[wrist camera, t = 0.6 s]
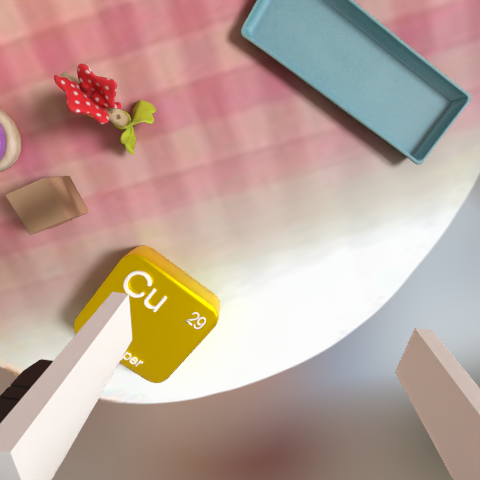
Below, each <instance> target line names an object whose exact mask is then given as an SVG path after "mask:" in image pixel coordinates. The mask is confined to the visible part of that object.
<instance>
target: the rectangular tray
mask: <svg viewBox="0 0 480 480" xmlns="http://www.w3.org/2000/svg"><path fill="white" fill-rule="evenodd" d="M241 35H242V36H243V37H244V38H245V39H247V40H248V41H250V42H251V43H253V44H254V45H256V46H257V47H258V48H260V49H261V50H263V51H264V52H265V53H267V54H268V55H269V56H271V57H272V58H273V59H275V60H276V61H278V62H279V63H280V64H282V65H283V66H284V67H286V68H287V69H288V70H290V71H291V72H292V73H294V74H295V75H297V76H298V77H299V78H300V79H302V80H303V81H304V82H306V83H307V84H309V85H310V86H311V87H313V88H314V89H315V90H317V91H318V92H319V93H321V94H322V95H323V96H325V97H326V98H328V99H329V100H330V101H332V102H333V103H334V104H336V105H337V106H338V107H340V108H341V109H342V110H344V111H345V112H347V113H348V114H349V115H351V116H352V117H353V118H355V119H356V120H357V121H359V122H360V123H362V124H363V125H364V126H366V127H367V128H368V129H370V130H371V131H373V132H374V133H375V134H377V135H378V136H379V137H381V138H382V139H384V140H385V141H386V142H388V143H389V144H390V145H392V146H393V147H394V148H396V149H397V150H398V151H400V152H401V153H402V154H404V155H405V156H406V157H408V158H409V159H410V160H411V161H413V162H414V163H415V164H422V163H423V162H424V160H425V159H426V158H427V156H428V155H429V154H430V152H431V151H432V150H433V148H434V147H435V146H436V144H437V143H438V142H439V140H440V139H441V138H442V137H443V135H444V134H445V133H446V131H447V130H448V129H449V127H450V126H451V125H452V124H453V122H454V121H455V120H456V118H457V117H458V116H459V115H460V113H461V112H462V111H463V110H464V108H465V107H466V106H467V105H468V103H469V102H470V100H471V95H470V94H469V93H468V92H466V91H465V90H464V89H462V88H461V87H460V86H458V85H457V84H456V83H455V82H453V81H452V80H451V79H449V78H448V77H447V76H446V75H445V74H443V73H442V72H441V71H440V70H438V69H437V68H436V67H435V66H433V65H432V64H431V63H430V62H428V61H427V60H426V59H425V58H423V57H422V56H421V55H419V54H418V53H417V52H416V51H415V50H413V49H412V48H411V47H410V46H408V45H407V44H406V43H405V42H404V41H402V40H401V39H400V38H398V37H397V36H396V35H395V34H394V33H392V32H391V31H390V30H389V29H388V28H386V27H385V26H384V25H383V24H381V23H380V22H379V21H378V20H377V19H375V18H374V17H373V16H372V15H370V14H369V13H368V12H367V11H366V10H364V9H363V8H362V7H361V6H360V5H358V4H357V3H356V2H355V1H353V0H257V1H256V3H255V5H254V6H253V8H252V10H251V12H250V13H249V15H248V17H247V19H246V20H245V22H244V24H243V26H242V28H241Z"/></svg>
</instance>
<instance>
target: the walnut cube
mask: <svg viewBox="0 0 480 480" xmlns="http://www.w3.org/2000/svg"><path fill="white" fill-rule="evenodd" d="M5 196H6V197H7V199H8V201H9V202H10V204H11V205H12V207H13V209H14V210H15V212H16V213H17V215H18V216H19V218H20V220H21V221H22V223H23V224H24V226H25V228H26V229H27V231H28V232H29V234H30V235H32V234H35V233H38V232H40V231H43V230H46V229H49V228H52V227H55V226H58V225H60V224H62V223H65V222H67V221H69V220H72V219H74V218H77V217H79V216H81V215H84V214H86V213H88V212H89V210H88V209H87V207H86V205H85V203H84V201H83V200H82V198H81V196H80V194H79V192H78V191H77V189H76V187H75V185H74V183H73V182H72V180H71V178H70V176H64V177H49V178H42V179H40V180H38V181H35V182H33V183H31V184H29V185H26V186H24V187H22V188H20V189H17V190H15V191H13V192H11V193H8V194H6V195H5Z"/></svg>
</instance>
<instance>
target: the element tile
mask: <svg viewBox="0 0 480 480" xmlns="http://www.w3.org/2000/svg"><path fill="white" fill-rule="evenodd" d="M112 292H118V293H126V294H129V303H130V316H131V329H132V341H131V343H130V345H129V346H128V348H127V350H126V351H125V353H124V355H123V357H122V358H121V360H120V362H119V363H121V364H122V365H124V366H125V367H127V368H129V369H130V370H132V371H133V372H135V373H136V374H138V375H140V376H141V377H143V378H144V379H146V380H148V381H150V382H154V383H161V382H163V381H165V380H166V379H168V378H169V376H170V375H171V374H172V373H173V372H174V371H175V370H176V369H177V368H178V367H179V365H180V364H181V363H182V362H183V361H184V360H185V359H186V358H187V357H188V356H189V354H190V353H191V352H192V351H193V350H194V349H195V348H196V347H197V346H198V345H199V343H200V342H201V341H202V340H203V339H204V338H205V337H206V336H207V335H208V334H209V332H210V331H211V330H212V329H213V328H214V327H215V326H216V324H217V322H218V318H219V310H220V301H219V299H218V298H217V296H216V295H215V294H214V293H212V292H211V291H210V290H208V289H207V288H206V287H204V286H203V285H202V284H200V283H199V282H197V281H196V280H195V279H193V278H192V277H191V276H189V275H188V274H187V273H185V272H184V271H183V270H181V269H180V268H179V267H177V266H176V265H174V264H173V263H172V262H170V261H169V260H168V259H166V258H165V257H164V256H162V255H161V254H160V253H158V252H157V251H156V250H154V249H153V248H151V247H148V246H145V245H143V246H138V247H136V248H134V249H133V250H132V251H130V252H129V253H128V254H127V255H125V256H124V257H123V258H122V259H121V260H120V261H119V263H118V264H117V265H116V267H115V268H114V269H113V271H112V272H111V273H110V274H109V276H108V277H107V278H106V280H105V281H104V282H103V284H102V285H101V286H100V288H99V289H98V290H97V292H96V293H95V294H94V295H93V297H92V298H91V299H90V301H89V302H88V303H87V305H86V306H85V307H84V309H83V310H82V311H81V313H80V314H79V315H78V316H77V318H76V320H75V322H74V330H75V332H76V334H77V333H78V332H79V331H80V329H81V328H82V327H83V326H84V325H85V324H86V322H87V321H88V320H89V319H90V318H91V316H92V315H93V314H94V313H95V312H96V311H97V309H98V308H99V307H100V306H101V305H102V304H103V302H104V301H105V300H106V299H107V298H108V297H109V295H110V294H111V293H112Z"/></svg>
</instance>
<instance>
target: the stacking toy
mask: <svg viewBox="0 0 480 480" xmlns="http://www.w3.org/2000/svg"><path fill="white" fill-rule="evenodd" d="M21 145H22V143H21V136H20V133H19V130H18V128H17V126H16V124H15V123H14V121H13V120H12V119H11V118H10V117H9V116H8V115H7V114H6V113H5V112H4V111H2V110H1V109H0V171H3V170H6V169H8V168H10V167H11V166H12V165H13V164H14V163H15V162H16V161H17V159H18V158H19V156H20V153H21Z"/></svg>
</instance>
